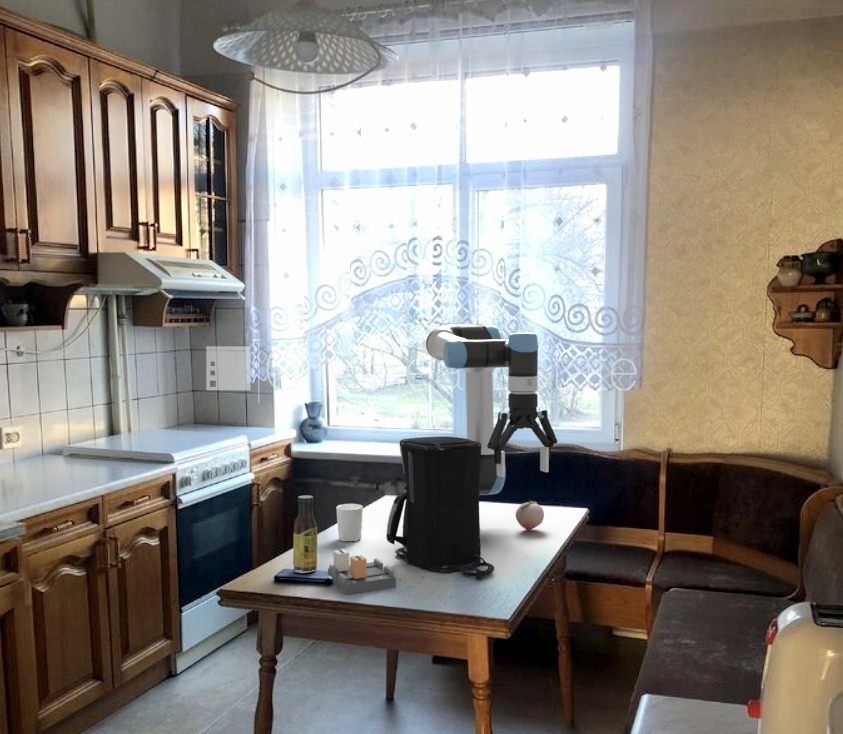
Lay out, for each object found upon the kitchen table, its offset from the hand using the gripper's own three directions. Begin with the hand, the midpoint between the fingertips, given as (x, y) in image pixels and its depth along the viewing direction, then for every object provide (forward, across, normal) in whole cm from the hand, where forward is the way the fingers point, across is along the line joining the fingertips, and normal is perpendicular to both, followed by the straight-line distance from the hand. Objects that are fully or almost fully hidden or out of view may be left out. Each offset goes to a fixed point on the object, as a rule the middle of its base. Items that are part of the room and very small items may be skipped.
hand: (522, 473), depth 207 cm
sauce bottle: (+26, -50, +27) cm, 63 cm away
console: (+26, -41, +12) cm, 50 cm away
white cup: (+26, -28, +50) cm, 64 cm away
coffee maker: (+26, -17, +17) cm, 35 cm away
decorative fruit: (+26, +25, +33) cm, 49 cm away
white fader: (+23, -45, +16) cm, 53 cm away
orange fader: (+23, -43, +8) cm, 49 cm away
